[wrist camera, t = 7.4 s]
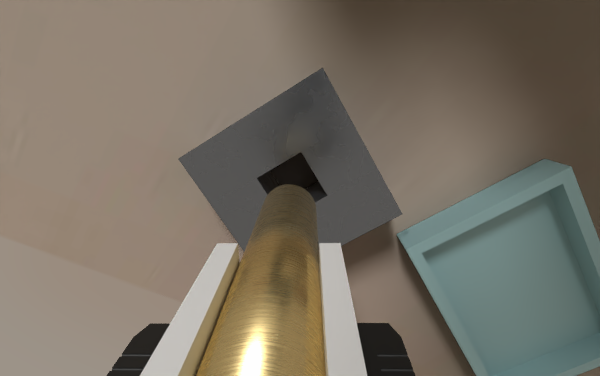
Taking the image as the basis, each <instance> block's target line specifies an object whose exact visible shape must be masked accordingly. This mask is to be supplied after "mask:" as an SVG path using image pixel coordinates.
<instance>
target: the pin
mask: <svg viewBox="0 0 600 376" xmlns="http://www.w3.org/2000/svg"><path fill="white" fill-rule="evenodd" d="M196 376H326V371H325V354H324V337H323V320H322V303H321V286H320V269H319V246H318V230H317V214H316V204H315V201H314V199H313V197H312V196H311V194H310V193H309V192H308V191H307V190H305V189H304V188H302V187H300V186H297V185H292V184H286V185H281V186H278V187H276V188H274V189H273V190H272V191H271V192H270V193H269V194H268V195H267V196H266V198H265V200H264V203H263V205H262V208H261V211H260V213H259V216H258V218H257V221H256V223H255V226H254V228H253V231H252V234H251V236H250V239H249V241H248V244H247V246H246V249H245V252H244V254H243V257H242V259H241V262H240V264H239V267H238V270H237V272H236V275H235V277H234V280H233V282H232V285H231V287H230V290H229V293H228V295H227V298H226V300H225V303H224V305H223V308H222V311H221V313H220V316H219V318H218V321H217V323H216V326H215V329H214V331H213V334H212V336H211V339H210V341H209V344H208V346H207V349H206V352H205V354H204V357H203V359H202V362H201V364H200V367H199V370H198V372H197V375H196Z"/></svg>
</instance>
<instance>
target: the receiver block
mask: <svg viewBox="0 0 600 376" xmlns="http://www.w3.org/2000/svg"><path fill="white" fill-rule="evenodd" d="M300 152H302V154H303V156H304V157H305V159H306V161H307V162H308V164H309V166H310V167H311V169H312V171H313V172H314V174H315V176H316V177H317V179H318V182H316V183H315V184H313V185H311V186H309V187H308V188H306V189H305V190H307V191H308V192H309V193H310V194H311V196H312V197H313V199H314V201H315V204H316V214H317V230H318V246H319V243H340V244H341V246H342V245H344V244H346V243H348V242H350V241H352V240H353V239H355V238H357V237H359V236H361V235H363V234H365V233H367V232H369V231H371V230H373V229H375V228H376V227H378V226H380V225H382V224H384V223H386V222H388V221H390V220H392V219H394V218H396V217H398V216H400V215H401V214H402V213H401V211H400V209H399V207H398V205H397V203H396V202H395V200H394V198H393V196H392V194H391V192H390V191H389V189H388V187H387V185H386V183H385V181H384V180H383V178H382V176H381V174H380V172H379V170H378V169H377V167H376V165H375V163H374V161H373V159H372V158H371V156H370V154H369V152H368V150H367V148H366V147H365V145H364V143H363V141H362V139H361V137H360V136H359V134H358V132H357V130H356V128H355V126H354V125H353V123H352V121H351V119H350V117H349V115H348V114H347V112H346V110H345V108H344V106H343V104H342V103H341V101H340V99H339V97H338V95H337V93H336V92H335V90H334V88H333V86H332V84H331V82H330V81H329V79H328V77H327V75H326V73H325V71H324V70H323V68H321V69H320V70H318V71H317V72H315V73H314V74H312V75H310V76H309V77H307V78H306V79H304V80H302V81H301V82H299V83H298V84H296V85H295V86H293V87H291V88H290V89H288V90H287V91H285V92H283V93H282V94H280V95H279V96H277V97H276V98H274V99H272V100H271V101H269V102H268V103H266V104H264V105H263V106H261V107H260V108H258V109H256V110H255V111H253V112H252V113H250V114H249V115H247V116H245V117H244V118H242V119H241V120H239V121H237V122H236V123H234V124H233V125H231V126H230V127H228V128H226V129H225V130H223V131H222V132H220V133H218V134H217V135H215V136H214V137H212V138H210V139H209V140H207V141H206V142H204V143H203V144H201V145H199V146H198V147H196V148H195V149H193V150H191V151H190V152H188V153H187V154H185V155H184V156H182V157H180V158H179V161H180V162H181V163H182V165H183V166H184V168H185V169H186V170H187V172H188V173H189V175H190V176H191V178H192V179H193V180H194V182H195V183H196V185H197V186H198V187H199V189H200V190H201V192H202V193H203V194H204V196H205V197H206V199H207V200H208V201H209V203H210V204H211V206H212V207H213V208H214V210H215V211H216V213H217V214H218V215H219V217H220V218H221V220H222V221H223V222H224V224H225V225H226V227H227V228H228V230H229V231H230V232H231V234H232V235H233V237H234V238H235V239H236V241H237V242H238V244H239V245H240V246H241V248H242V249H243V251H244V252H245V249H246V246H247V244H248V241H249V239H250V236H251V234H252V231H253V228H254V226H255V223H256V221H257V218H258V216H259V213H260V211H261V208H262V205H263V203H264V200H265V198H266V196H267V195H268V194H269V193H270V192H271V191H272V190H273V189H274V188H276V187H278V186H279V184H278V183H277V181H276V180H275V178H274V177H273V175H272V173H271V172H270V170H271V169H273V168H275V167H276V166H278V165H280V164H281V163H283V162H285V161H287V160H288V159H290V158H292V157H293V156H295V155H297V154H298V153H300Z"/></svg>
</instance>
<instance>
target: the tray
mask: <svg viewBox="0 0 600 376" xmlns="http://www.w3.org/2000/svg"><path fill="white" fill-rule="evenodd" d="M397 236H398V238H399V240H400V241H401V243H402V245H403V247H404V249H405V250H406V252H407V254H408V256H409V257H410V259H411V261H412V263H413V265H414V266H415V268H416V270H417V272H418V274H419V275H420V277H421V279H422V281H423V282H424V284H425V286H426V288H427V290H428V291H429V293H430V295H431V297H432V298H433V300H434V302H435V304H436V306H437V307H438V309H439V311H440V313H441V315H442V316H443V318H444V320H445V322H446V323H447V325H448V327H449V329H450V331H451V332H452V334H453V336H454V338H455V339H456V341H457V343H458V345H459V347H460V348H461V350H462V352H463V354H464V356H465V357H466V359H467V361H468V363H469V364H470V366H471V368H472V370H473V372H474V373H475V375H476V376H576V375H579V374H581V373H584V372H587V371H589V370H592V369H594V368H597V367H599V366H600V241H599V238H598V235H597V233H596V230H595V227H594V225H593V222H592V219H591V217H590V214H589V212H588V209H587V206H586V204H585V201H584V198H583V196H582V193H581V190H580V188H579V185H578V182H577V180H576V177H575V174H574V172H573V169H572V166H568V165H565V164H561V163H558V162H554V161H551V160H547V159H543V160H541V161H539V162H537V163H535V164H533V165H531V166H529V167H527V168H525V169H523V170H521V171H519V172H517V173H515V174H513V175H511V176H509V177H507V178H506V179H504V180H502V181H500V182H498V183H496V184H494V185H492V186H490V187H488V188H486V189H484V190H482V191H480V192H478V193H476V194H474V195H472V196H470V197H468V198H466V199H464V200H462V201H461V202H459V203H457V204H455V205H453V206H451V207H449V208H447V209H445V210H443V211H441V212H439V213H437V214H435V215H433V216H431V217H429V218H427V219H425V220H423V221H421V222H419V223H417V224H416V225H414V226H412V227H410V228H408V229H406V230H404V231H402V232H400V233H398V234H397Z"/></svg>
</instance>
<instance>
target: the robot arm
mask: <svg viewBox="0 0 600 376" xmlns="http://www.w3.org/2000/svg"><path fill="white" fill-rule="evenodd" d="M238 267H239V252H238V243H217V245H216V246H215V248H214V250H213V251H212V253H211V255H210V256H209V258H208V260H207V262H206V263H205V265H204V267H203V268H202V270H201V272H200V274H199V275H198V277H197V279H196V280H195V282H194V284H193V286H192V287H191V289H190V291H189V292H188V294H187V296H186V298H185V299H184V301H183V303H182V304H181V306H180V308H179V310H178V311H177V313H176V315H175V316H174V318H173V320H172V322H171V323H170V324H149V325H148V326H147V327H146V328H144V329H143V330H142V331H141V332H139V333H138V334H137V335H136V336H134V337H133V339H132V340H131V342H130V343H129V344H128V346H127V347H126V349H125V350H124V352H123V353H122V357H119V359H118V360H117V362H116V363H115V364H114V366H113V367H112V371H110V372H109V373H108V374H107V376H196V375H197V372H198V370H199V367H200V364H201V362H202V359H203V357H204V354H205V352H206V349H207V346H208V344H209V341H210V339H211V336H212V334H213V331H214V329H215V326H216V323H217V321H218V318H219V316H220V313H221V311H222V308H223V305H224V303H225V300H226V298H227V295H228V293H229V290H230V287H231V285H232V282H233V280H234V277H235V275H236V272H237V270H238ZM319 269H320V286H321V303H322V320H323V337H324V354H325V371H326V376H415V373H414V372H413V368H412V365H411V362H410V360H409V357H408V356H407V352H406V349H405V346H404V344H403V341H402V338H401V336H400V335H399V334H398V333H397V332H396V331H395V330H394V329H393V328H392V327H391V326H390V324H389V323H357V322H356V317H355V312H354V308H353V303H352V298H351V293H350V288H349V283H348V278H347V273H346V268H345V263H344V258H343V253H342V248H341V244H340V243H319Z"/></svg>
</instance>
